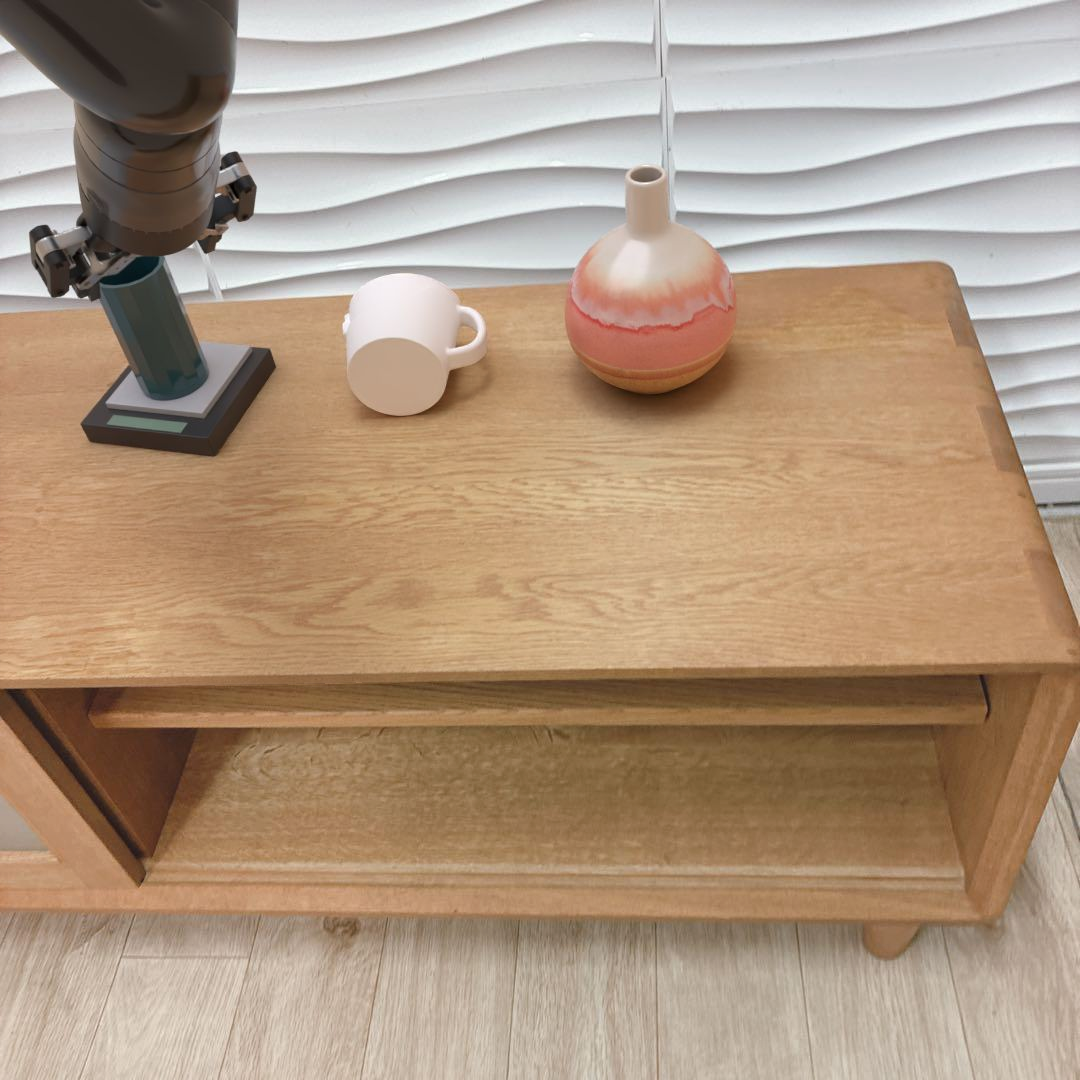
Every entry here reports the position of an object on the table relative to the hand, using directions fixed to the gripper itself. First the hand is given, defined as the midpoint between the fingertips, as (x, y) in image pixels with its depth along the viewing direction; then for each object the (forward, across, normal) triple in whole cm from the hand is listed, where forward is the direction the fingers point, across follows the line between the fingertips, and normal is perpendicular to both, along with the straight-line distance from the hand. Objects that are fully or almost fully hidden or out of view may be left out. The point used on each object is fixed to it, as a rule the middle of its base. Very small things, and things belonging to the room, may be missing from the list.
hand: (146, 263), depth 75 cm
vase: (+1, -32, +24) cm, 40 cm away
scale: (+18, 0, +7) cm, 20 cm away
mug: (+10, -17, +15) cm, 25 cm away
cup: (+17, 0, +5) cm, 17 cm away
